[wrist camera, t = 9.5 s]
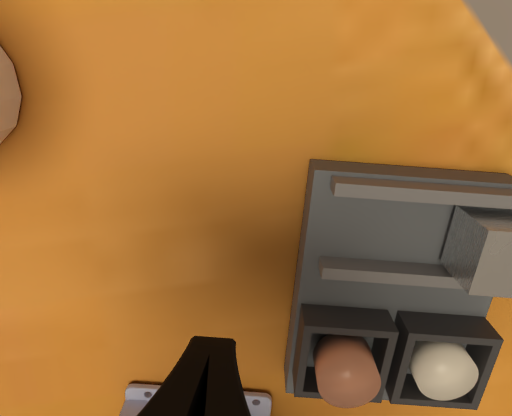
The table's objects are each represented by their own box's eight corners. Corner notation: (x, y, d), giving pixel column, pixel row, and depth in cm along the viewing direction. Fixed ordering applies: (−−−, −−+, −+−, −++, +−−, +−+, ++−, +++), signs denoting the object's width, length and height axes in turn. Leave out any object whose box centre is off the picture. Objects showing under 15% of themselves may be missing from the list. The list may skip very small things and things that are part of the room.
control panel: (284, 367, 24) (287, 419, 21) (310, 159, 19) (319, 181, 16) (440, 378, 24) (470, 432, 21) (506, 173, 19) (559, 199, 16)
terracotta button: (309, 374, 21) (313, 405, 19) (316, 329, 20) (322, 357, 18) (365, 378, 21) (374, 410, 19) (375, 333, 20) (386, 362, 18)
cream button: (398, 368, 22) (411, 398, 20) (409, 325, 20) (424, 352, 19) (451, 372, 22) (469, 402, 20) (466, 329, 20) (486, 356, 19)
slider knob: (440, 262, 19) (468, 294, 16) (455, 205, 18) (489, 230, 15) (500, 266, 19) (538, 299, 16) (520, 209, 18) (564, 236, 15)
